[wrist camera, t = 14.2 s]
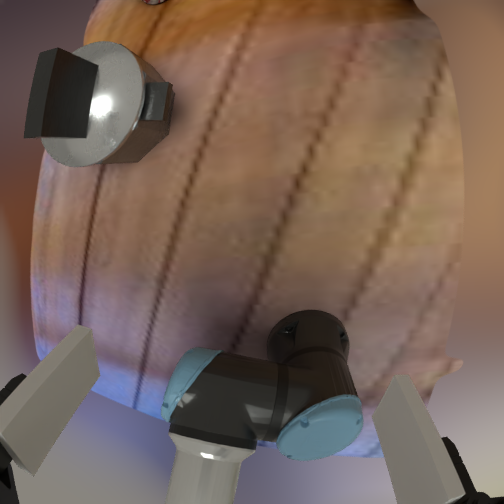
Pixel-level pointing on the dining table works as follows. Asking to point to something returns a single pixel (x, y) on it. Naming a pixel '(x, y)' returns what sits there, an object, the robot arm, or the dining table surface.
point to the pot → (147, 118)
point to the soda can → (153, 1)
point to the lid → (85, 102)
